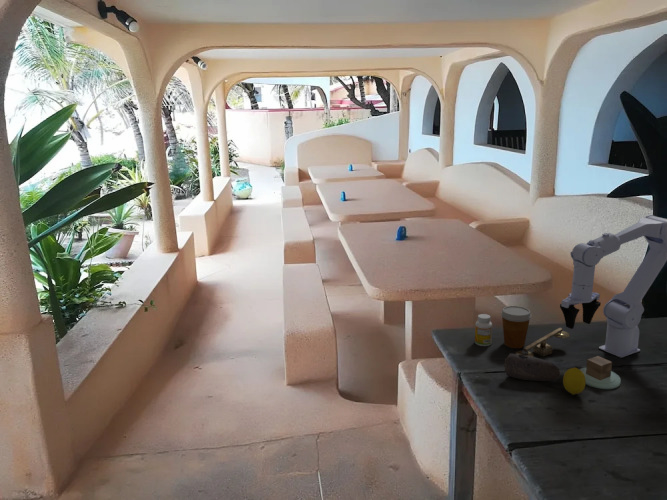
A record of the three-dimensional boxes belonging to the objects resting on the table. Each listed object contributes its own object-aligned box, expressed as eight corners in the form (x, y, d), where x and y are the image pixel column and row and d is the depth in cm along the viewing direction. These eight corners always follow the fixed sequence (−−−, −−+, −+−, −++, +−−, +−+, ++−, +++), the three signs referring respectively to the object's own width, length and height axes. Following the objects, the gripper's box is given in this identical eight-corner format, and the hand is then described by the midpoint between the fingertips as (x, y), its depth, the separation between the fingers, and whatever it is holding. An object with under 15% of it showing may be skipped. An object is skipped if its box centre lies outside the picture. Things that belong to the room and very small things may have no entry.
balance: (558, 342, 173) (560, 324, 172) (571, 348, 169) (573, 329, 167) (512, 357, 164) (513, 337, 163) (524, 363, 160) (526, 343, 158)
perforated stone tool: (559, 378, 151) (560, 356, 149) (559, 387, 146) (561, 365, 144) (504, 371, 156) (505, 349, 154) (503, 379, 151) (504, 357, 150)
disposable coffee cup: (493, 344, 174) (495, 310, 170) (508, 335, 180) (510, 303, 177) (520, 353, 167) (522, 318, 164) (534, 344, 173) (537, 310, 170)
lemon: (578, 388, 145) (580, 362, 143) (588, 399, 139) (590, 372, 137) (558, 389, 145) (560, 363, 143) (567, 400, 139) (570, 373, 137)
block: (596, 369, 152) (597, 355, 151) (610, 376, 148) (612, 362, 147) (585, 373, 150) (587, 359, 149) (599, 380, 146) (601, 365, 145)
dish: (594, 366, 157) (594, 363, 156) (629, 382, 147) (629, 378, 147) (568, 376, 152) (569, 372, 151) (603, 392, 142) (603, 389, 142)
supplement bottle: (478, 338, 179) (479, 311, 176) (493, 342, 175) (495, 314, 173) (472, 344, 174) (473, 317, 172) (488, 348, 171) (489, 320, 169)
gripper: (587, 276, 164) (582, 316, 168) (554, 283, 158) (550, 325, 161) (607, 282, 158) (602, 324, 161) (574, 290, 152) (570, 333, 155)
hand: (578, 325), depth 161 cm, fingers open, 7 cm apart
